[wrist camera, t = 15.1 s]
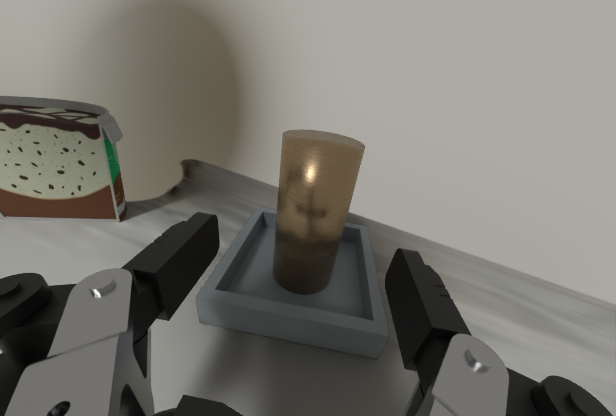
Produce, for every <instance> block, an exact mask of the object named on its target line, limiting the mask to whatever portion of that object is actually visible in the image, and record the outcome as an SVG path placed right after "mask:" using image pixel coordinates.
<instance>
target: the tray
mask: <svg viewBox="0 0 616 416" xmlns="http://www.w3.org/2000/svg"><path fill="white" fill-rule="evenodd" d="M276 218H277V210H275V209H269V208H264V207H257V208H256V209H255V211H254V212H253V214H252V215H251V217H250V218H249V220H248V221H247V223H246V224H245V226H244V227H243V228H242V230H241V231H240V233H239V234H238V236H237V237H236V239H235V240H234V242H233V243H232V245H231V246H230V247H229V249H228V250H227V252H226V253H225V255H224V256H223V258H222V259H221V261H220V262H219V264H218V265H217V266H216V268H215V269H214V271H213V272H212V274H211V275H210V277H209V278H208V280H207V281H206V283H205V284H204V286H203V287H202V288H201V290H200V291H199V293H198V294H197V296H196V297H195V298H196V304H197V310H198V316H199V321H200V323H202V324H207V325H212V326H217V327H222V328H227V329H232V330H237V331H242V332H246V333H251V334H256V335H261V336H266V337H271V338H276V339H281V340H286V341H291V342H295V343H300V344H305V345H310V346H315V347H320V348H325V349H330V350H335V351H340V352H344V353H349V354H354V355H359V356H364V357H369V358H374V359H378V357H379V355H380V353H381V351H382V350H383V348H384V346H385V344H386V342H387V340H388V338H389V337H390V335H389V330H388V325H387V320H386V316H385V311H384V306H383V301H382V296H381V291H380V286H379V281H378V277H377V272H376V267H375V262H374V257H373V252H372V247H371V242H370V238H369V233H368V228H367V226H364V225H359V224H353V223H347V222H345V226H344V230H343V234H342V238H341V242H340V245H339V249H338V253H337V257H336V261H335V265H334V268H333V272H332V276H331V280H330V282H329V284H328V286H327V287H326V288H325V289H323V290H322V291H320V292H318V293H315V294H310V295H300V294H295V293H292V292H289V291H287V290H285V289H284V288H282V287H281V286H280V285H279V284H278V283H277V282H276V280H275V278H274V276H273V258H274V244H275V231H276Z"/></svg>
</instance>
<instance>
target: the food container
mask: <svg viewBox="0 0 616 416" xmlns="http://www.w3.org/2000/svg"><path fill="white" fill-rule="evenodd" d="M122 136H123V134H122V132H121V130H120V128H119V126H118V124H117V122H116V121H115V119H114V117H113V116H111V115H110V114H109V111H108V110H107V109H106V108H104V107H101V106H97V105H93V104H89V103H82V102H76V101H67V100H58V99H47V98H32V97H15V96H0V217H1V218H2V219H4V220H45V221H87V222H121V220H122V219H123V218H124V217H125V214H126V210H127V208H126V202H125V196H124V191H123V185H122V179H121V173H120V167H119V161H118V156H117V150H116V144H115V142H117V141H119V140H120V139H121V138H122Z"/></svg>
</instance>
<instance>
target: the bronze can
mask: <svg viewBox="0 0 616 416" xmlns="http://www.w3.org/2000/svg"><path fill="white" fill-rule="evenodd" d="M364 149H365V145H363V143H361V142H359V141H357V140H355V139H352V138H349V137H346V136H343V135H339V134H334V133H329V132H323V131H315V130H289V131H286V132H284V133H283V139H282V151H281V165H280V178H279V191H278V205H277V218H276V231H275V244H274V258H273V276H274V278H275V280H276V282H277V283H278V284H279V285H280V286H281V287H282V288H284V289H285V290H287V291H289V292H292V293H295V294H300V295H310V294H315V293H318V292H320V291H322V290H323V289H325V288H326V287H327V286H328V284H329V282H330V280H331V276H332V272H333V268H334V265H335V261H336V257H337V253H338V249H339V245H340V242H341V238H342V234H343V230H344V226H345V222H346V218H347V215H348V211H349V207H350V203H351V199H352V195H353V191H354V188H355V184H356V180H357V176H358V172H359V168H360V165H361V161H362V157H363V153H364Z"/></svg>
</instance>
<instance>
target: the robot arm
mask: <svg viewBox="0 0 616 416" xmlns="http://www.w3.org/2000/svg"><path fill="white" fill-rule="evenodd" d="M218 249H219V230H218V219H217V216H216V215H212V214H207V213H201V212H197V213H195V214H194V215H193V216H192V217H191V218H190V219H189V220H187V221H182V222H180V223H178V224H176V225H174V226H171V227H170V228H169V229H168V230H166V231H165V232H164V233H163V234H162V236H159V237H158V238H157V239H156V240H154V243H151V244H150V245H148V246H147V247H146V248H145V249H144V250H142V251H141V252H140V253H139V254H138V255H136V256H135V257H134V258H133V259H132V260H130V261H129V262H128V263H127V264H126V265H124V266H123V267H122V268H121V269H119V268H115V269H107V270H103V271H100V272H97V273H94V274H92V275H90V276H88V277H86V278H85V279H83V280H82V281H80V282H79V283H78V284H68V285H54V286H48V284H47V283H46V281H45V280H44V278H43V277H42V276H41V275H39V274H36V273H22V274H16V275H12V276H8V277H5V278H2V279H0V349H1V350H2V351H3V353H2V354H0V416H243V415H241V414H240V413H238V412H236V411H235V410H233V409H232V408H230V407H228V406H227V405H225V404H224V403H221V402H216V401H211V400H207V399H202V398H197V397H192V396H188V395H183V396H182V398H181V400H180V402H179V404H178V406H177V408H172V409H169V410H165V411H161V412H159V413H156V414H155V413H154V402H153V395H152V390H151V328H150V326H151V325H152V323H153V322H154V321H155V320H156V318H157V319H162V320H167V321H169V320H170V318H171V317H172V316H173V314H174V313H175V312H176V310H177V309H178V307H179V306H180V305H181V303H182V302H183V301H184V299H185V298H186V296H187V295H188V294H189V292H190V291H191V290H192V288H193V287H194V285H195V284H196V283H197V281H198V280H199V278H200V277H201V276H202V274H203V273H204V272H205V270H206V269H207V267H208V266H209V265H210V263H211V262H212V261H213V259H214V258H215V256H216V255H217V252H218ZM385 289H386V293H387V297H388V301H389V305H390V309H391V314H392V318H393V322H394V326H395V330H396V334H397V339H398V343H399V347H400V351H401V355H402V359H403V364H404V368H405V369H408V370H413V371H417V372H418V376H419V379H420V380H419V381H418V383H417V385H416V387H415V389H414V391H413V394H412V396H411V398H410V400H409V403H408V405H407V407H406V409H405V412H404V414H403V416H613V415H612V414H611V413H610V412H609V411H608V410H607V409H606V408H605V407H604V406H603V405H602V404H601V403H600V402H599V401H598V400H597V399H596V398H595V397H594V396H592V395H591V394H590V393H589V392H587V391H586V390H585V389H583V388H582V387H580V386H579V385H577V384H575V383H573V382H572V381H570V380H568V379H565V378H563V377H559V376H548V377H547V378H545V379H544V380H543V381H541V382H540V383H538V382H536V381H534V380H532V379H530V378H528V377H526V376H524V375H522V374H519V373H517V372H515V371H513V370H511V369H509V368H507V367H506V366H505V365H504V363H503V361H502V360H501V359H500V357H499V356H498V355H497V354H496V353H495V352H494V351H493V350H492V349H491V348H490V347H489V346H488V345H487V344H485V343H484V342H482V341H481V340H479V339H477V338H475V337H473V336H472V335H471V333H470V331H469V330H468V328H467V326H466V324H465V322H464V320H463V319H462V317H461V315H460V313H459V311H458V309H457V308H456V306H455V304H454V302H453V300H452V299H451V298H450V295H449V293H448V291H447V289H445V285H444V284H443V282H442V280H441V278H440V276H439V275H438V274H437V273H436V272H435V271H434V270H433V269H432V268H431V267H430V266H428V265H425V264H424V262H423V260H422V258H421V256H420V254H419V253H418V252H417V251H412V250H407V249H401V248H398V249H397V250H396V252H395V255H394V257H393V259H392V262H391V264H390V267H389V269H388V271H387V274H386V278H385Z"/></svg>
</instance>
